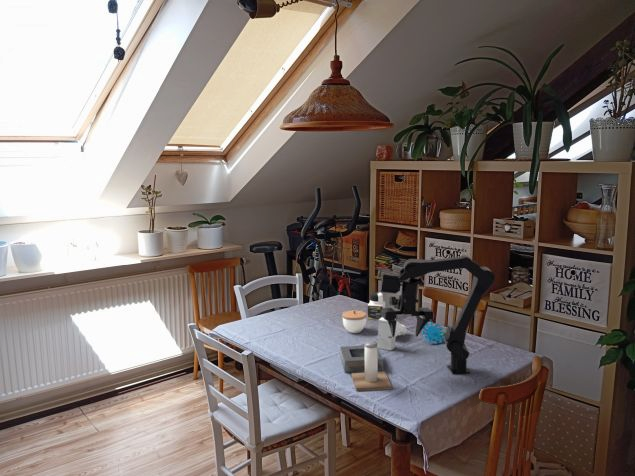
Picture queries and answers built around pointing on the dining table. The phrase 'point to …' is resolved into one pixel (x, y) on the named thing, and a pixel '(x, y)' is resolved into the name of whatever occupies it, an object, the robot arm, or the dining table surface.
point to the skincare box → (385, 335)
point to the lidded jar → (354, 320)
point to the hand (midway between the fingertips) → (404, 336)
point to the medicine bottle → (375, 305)
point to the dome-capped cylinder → (371, 362)
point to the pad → (364, 385)
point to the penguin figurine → (400, 329)
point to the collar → (356, 359)
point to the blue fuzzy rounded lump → (433, 333)
